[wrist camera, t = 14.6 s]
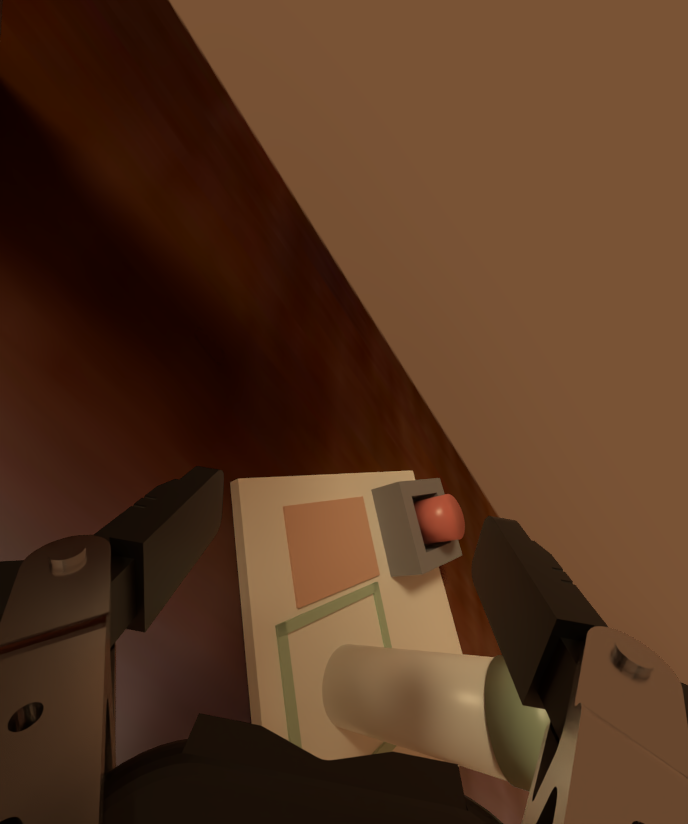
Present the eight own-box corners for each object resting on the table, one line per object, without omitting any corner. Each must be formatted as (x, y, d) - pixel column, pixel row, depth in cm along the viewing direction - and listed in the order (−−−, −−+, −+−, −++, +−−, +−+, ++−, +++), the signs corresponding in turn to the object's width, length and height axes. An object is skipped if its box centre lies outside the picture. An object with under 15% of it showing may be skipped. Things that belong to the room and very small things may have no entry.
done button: (405, 503, 28) (436, 495, 26) (426, 499, 31) (456, 492, 29) (417, 547, 27) (449, 543, 25) (438, 540, 30) (469, 535, 28)
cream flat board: (230, 482, 21) (265, 465, 18) (404, 473, 35) (437, 462, 33) (276, 1004, 14) (343, 1090, 11) (471, 726, 28) (519, 738, 26)
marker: (315, 658, 20) (539, 690, 12) (361, 632, 23) (564, 643, 15) (328, 747, 18) (591, 848, 11) (375, 706, 21) (606, 762, 14)
